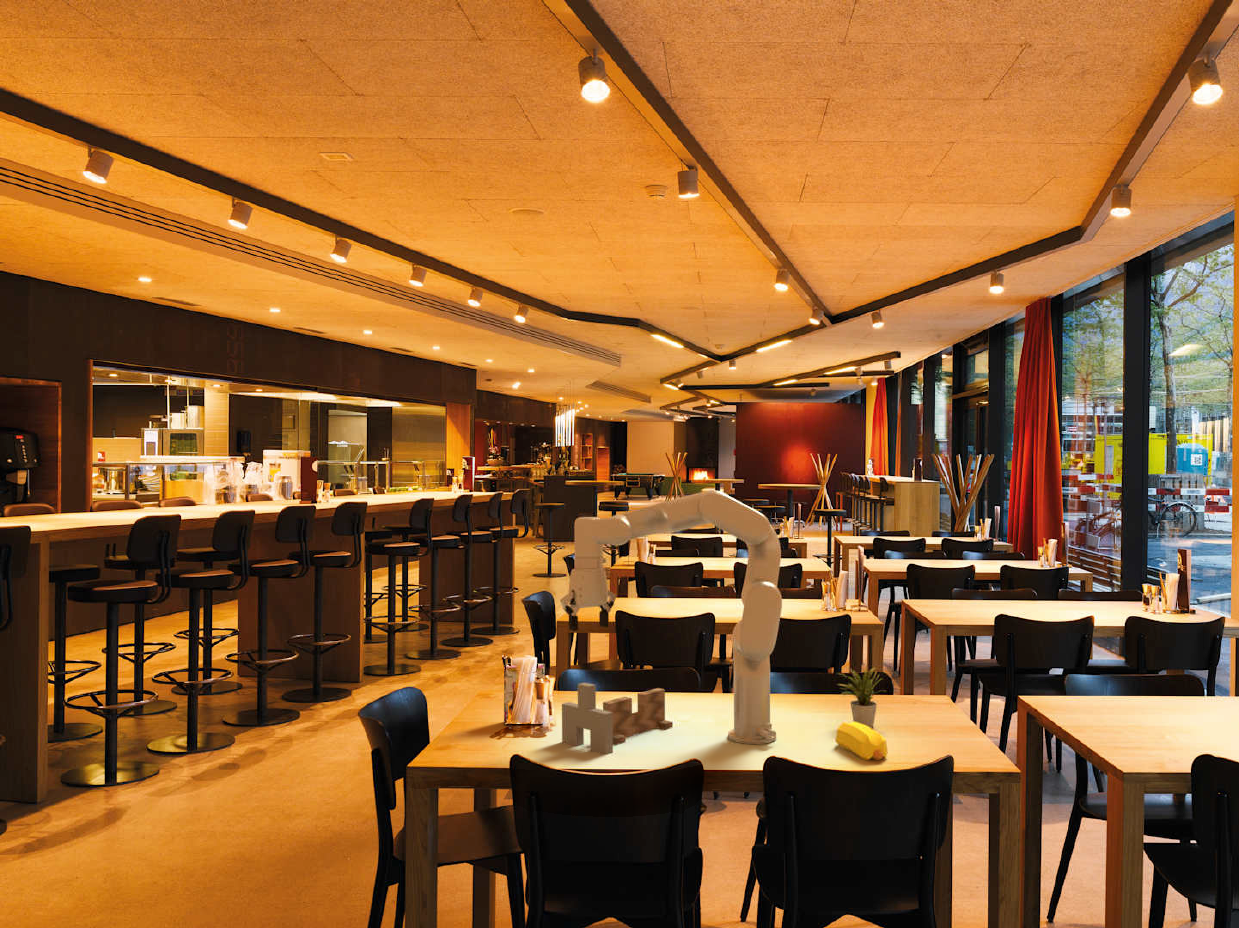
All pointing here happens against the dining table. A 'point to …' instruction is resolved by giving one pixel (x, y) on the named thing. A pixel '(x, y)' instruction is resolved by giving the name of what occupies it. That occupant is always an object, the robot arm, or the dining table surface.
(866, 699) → the house plant
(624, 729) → the walnut slotted stand
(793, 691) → the dining table surface
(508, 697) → the candy bar box
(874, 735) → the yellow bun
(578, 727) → the grey slotted plate
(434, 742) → the dining table surface
